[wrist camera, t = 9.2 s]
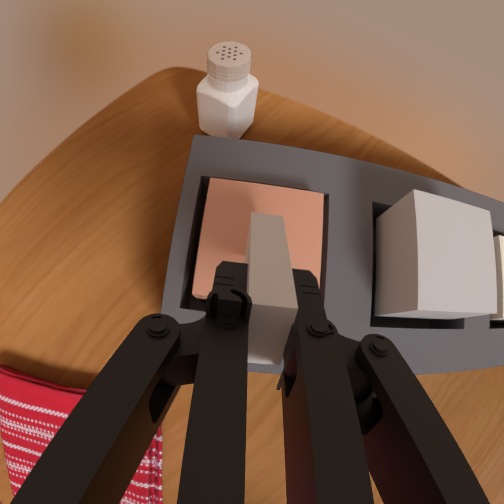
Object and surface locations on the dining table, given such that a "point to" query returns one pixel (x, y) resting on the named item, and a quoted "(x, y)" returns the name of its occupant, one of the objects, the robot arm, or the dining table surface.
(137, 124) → the dining table surface
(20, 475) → the dish towel
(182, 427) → the dining table surface
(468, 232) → the key grey
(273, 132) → the dining table surface
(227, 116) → the salt shaker
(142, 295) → the dining table surface
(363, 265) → the three-slot sorting tray
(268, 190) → the key terracotta
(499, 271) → the key cream
